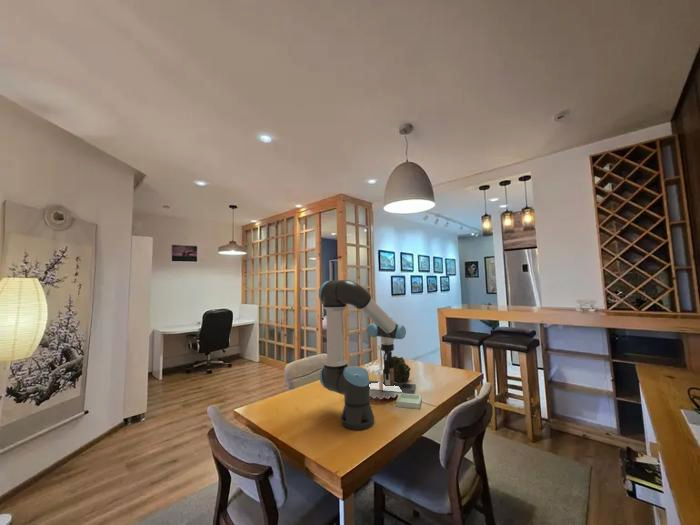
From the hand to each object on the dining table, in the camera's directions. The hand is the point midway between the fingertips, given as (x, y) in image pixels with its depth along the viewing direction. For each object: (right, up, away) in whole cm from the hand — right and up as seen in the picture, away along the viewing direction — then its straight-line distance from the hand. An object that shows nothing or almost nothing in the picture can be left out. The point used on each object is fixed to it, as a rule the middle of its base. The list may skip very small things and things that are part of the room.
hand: (388, 383), depth 169 cm
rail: (0, -3, 0) cm, 3 cm away
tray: (+8, -1, -22) cm, 23 cm away
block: (0, -3, 0) cm, 3 cm away
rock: (+9, -4, +14) cm, 17 cm away
